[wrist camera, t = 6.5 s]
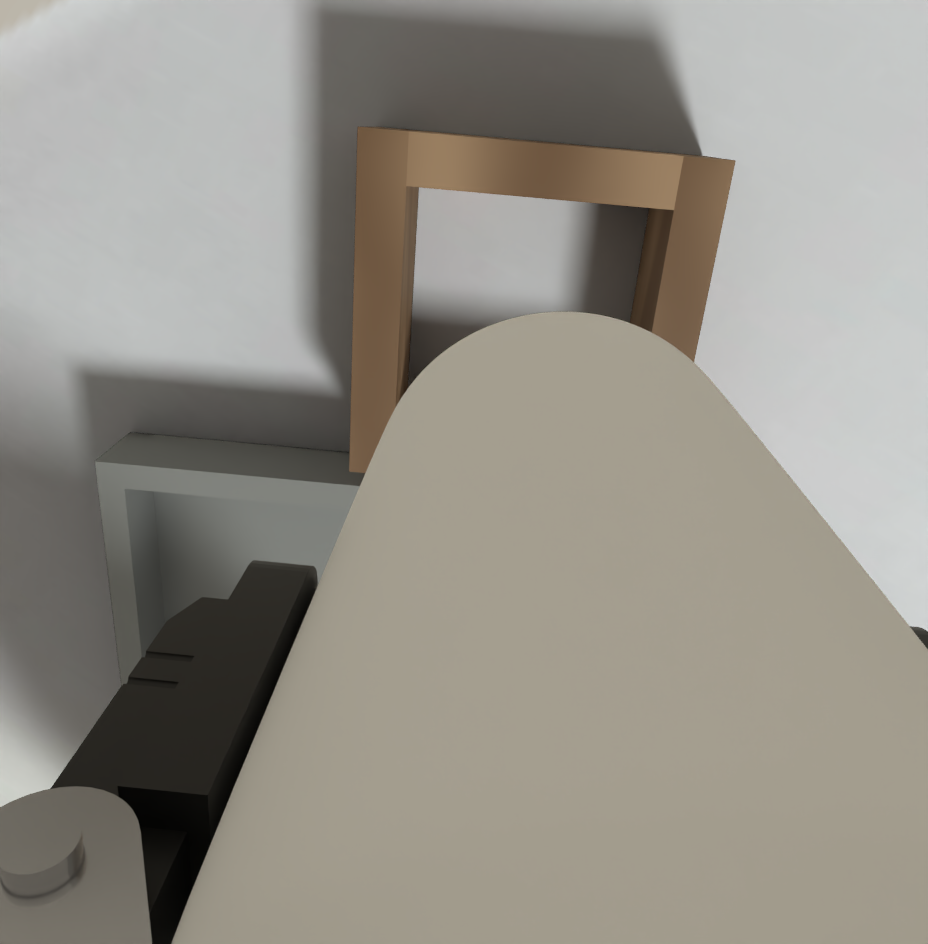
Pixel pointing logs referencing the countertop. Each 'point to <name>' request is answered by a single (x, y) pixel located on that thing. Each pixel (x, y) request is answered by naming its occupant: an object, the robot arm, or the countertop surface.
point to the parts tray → (208, 522)
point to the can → (580, 683)
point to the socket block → (529, 175)
